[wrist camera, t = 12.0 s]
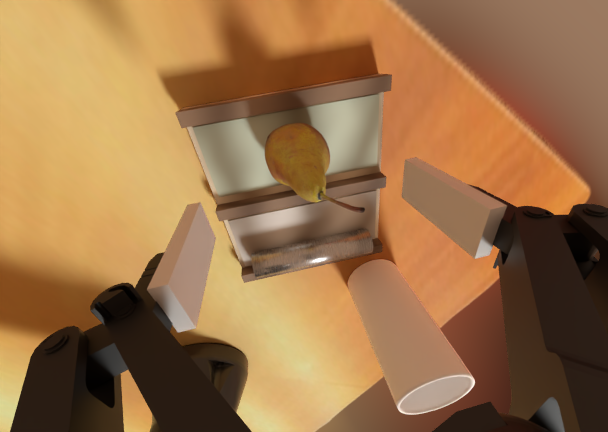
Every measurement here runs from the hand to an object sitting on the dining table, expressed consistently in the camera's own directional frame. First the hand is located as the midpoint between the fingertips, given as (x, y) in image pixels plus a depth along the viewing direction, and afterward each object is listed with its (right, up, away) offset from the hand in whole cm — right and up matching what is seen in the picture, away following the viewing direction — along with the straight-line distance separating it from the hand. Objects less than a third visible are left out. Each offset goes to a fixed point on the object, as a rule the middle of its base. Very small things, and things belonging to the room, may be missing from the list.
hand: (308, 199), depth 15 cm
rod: (0, -4, +13) cm, 13 cm away
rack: (-1, +2, +12) cm, 12 cm away
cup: (+10, -11, +22) cm, 27 cm away
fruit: (-2, +6, +8) cm, 10 cm away
